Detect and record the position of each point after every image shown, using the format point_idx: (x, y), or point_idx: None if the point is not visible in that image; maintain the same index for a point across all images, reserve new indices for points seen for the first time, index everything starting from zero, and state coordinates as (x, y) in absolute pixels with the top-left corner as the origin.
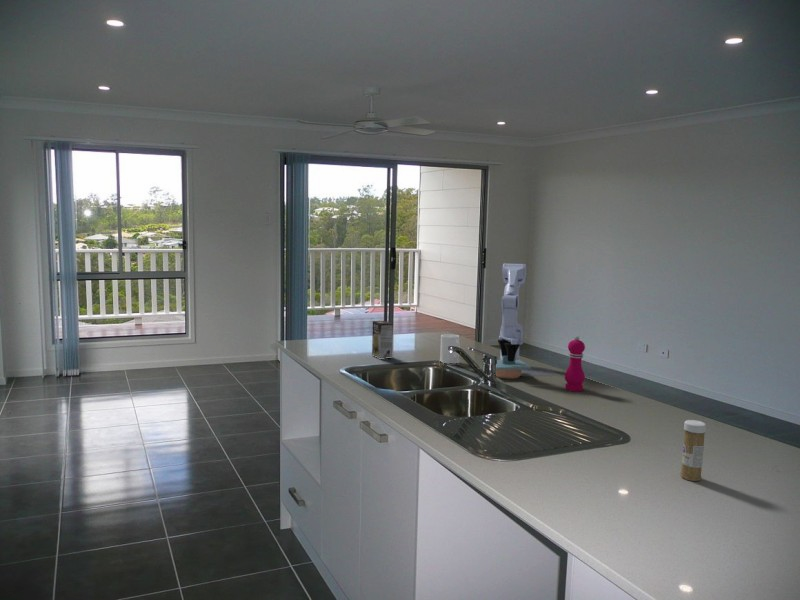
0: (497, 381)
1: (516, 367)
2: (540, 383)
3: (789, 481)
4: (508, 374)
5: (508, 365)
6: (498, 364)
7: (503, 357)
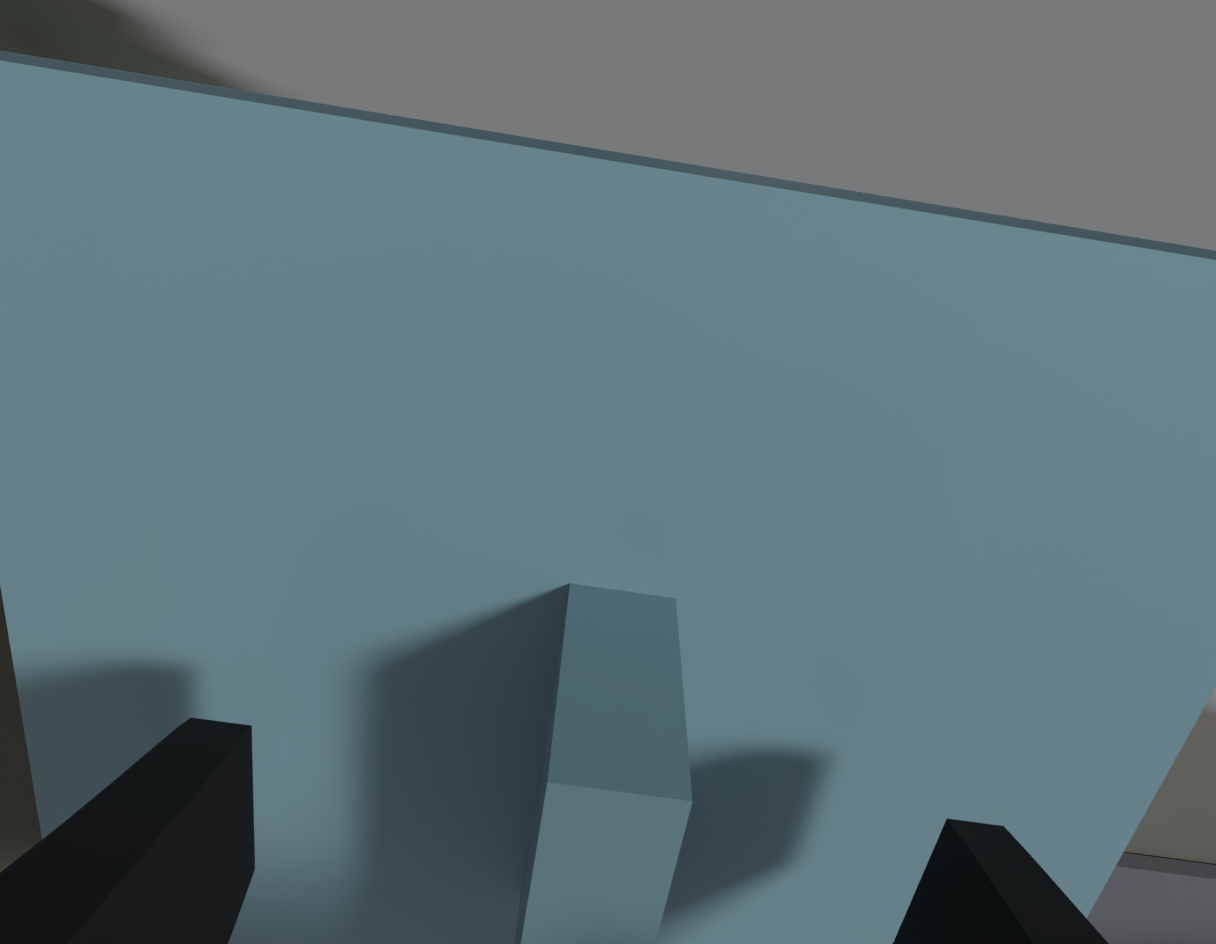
0: (132, 62)
1: (28, 735)
2: (13, 831)
3: None
4: None
5: (294, 637)
6: (484, 383)
7: (551, 751)
